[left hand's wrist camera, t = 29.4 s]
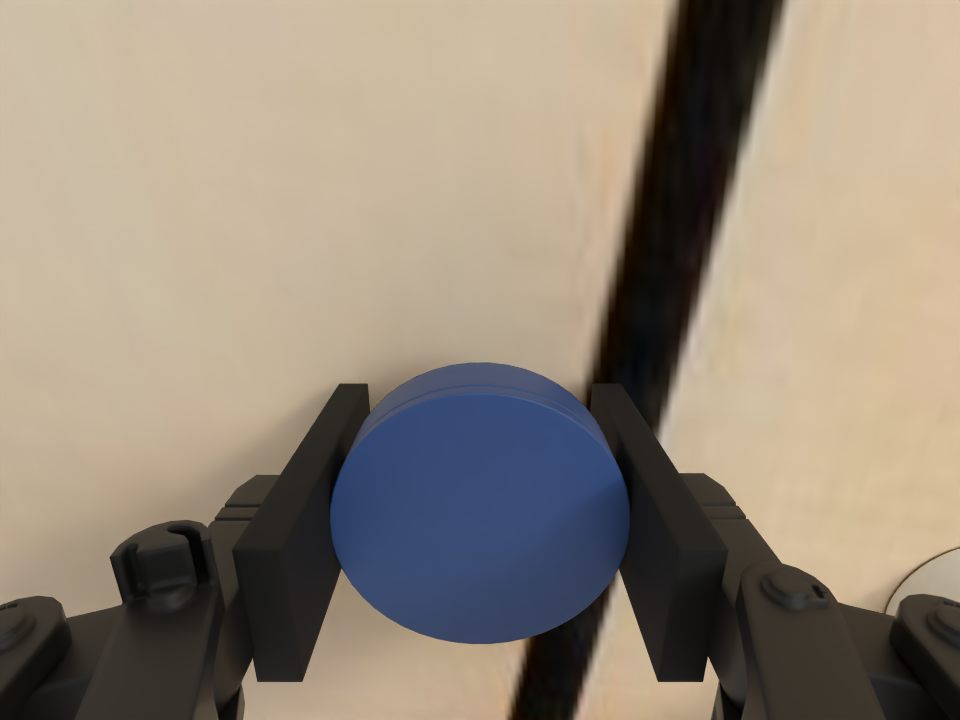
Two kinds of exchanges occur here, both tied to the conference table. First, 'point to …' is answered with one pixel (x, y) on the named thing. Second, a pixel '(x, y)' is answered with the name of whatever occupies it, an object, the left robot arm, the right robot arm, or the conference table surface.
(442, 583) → the lid
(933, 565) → the jar
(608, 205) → the conference table surface
